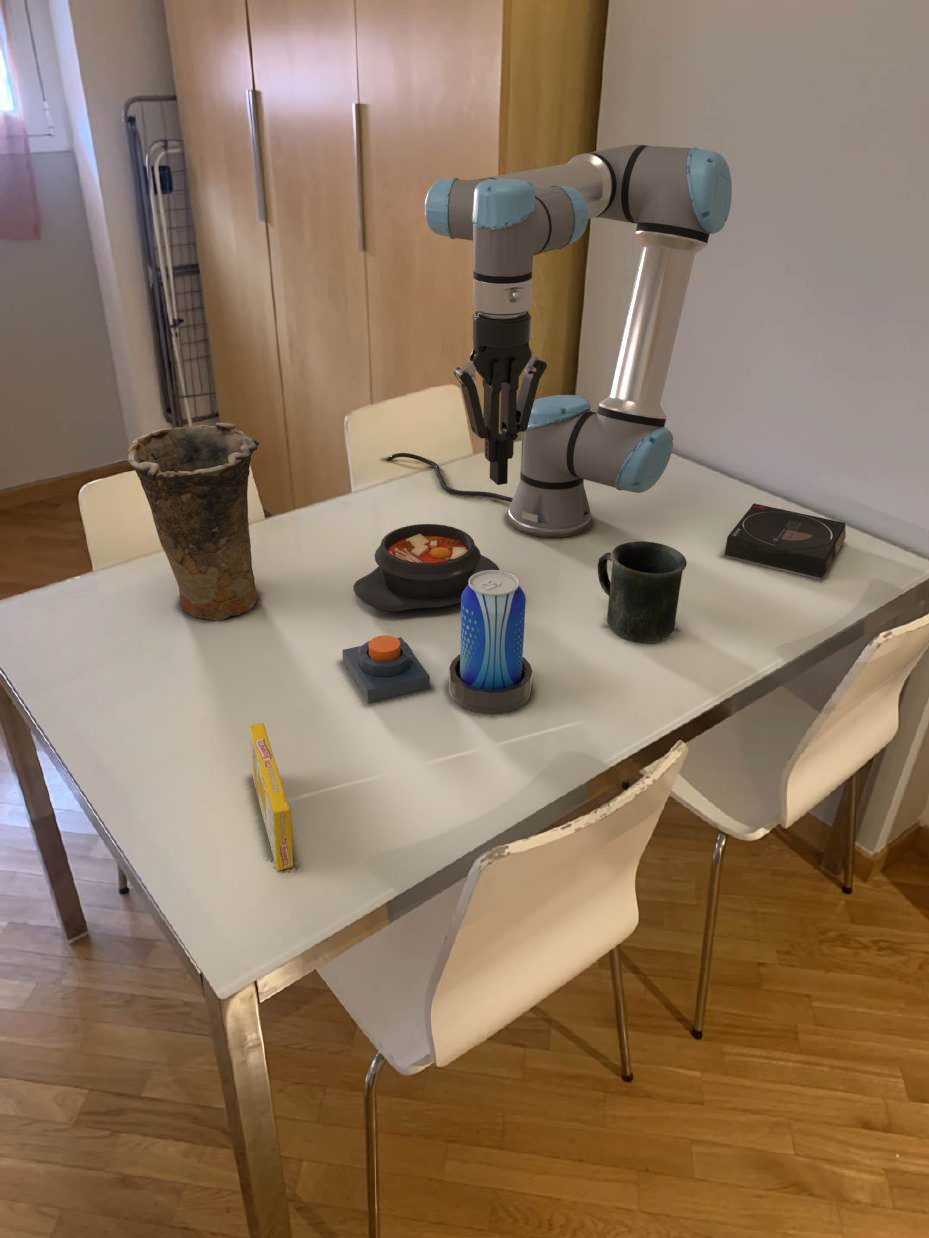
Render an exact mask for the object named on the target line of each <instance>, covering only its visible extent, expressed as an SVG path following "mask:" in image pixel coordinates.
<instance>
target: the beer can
mask: <svg viewBox="0 0 929 1238" xmlns="http://www.w3.org/2000/svg"><path fill="white" fill-rule="evenodd" d="M526 601H527V599H526V594H525V592H524V590H523V589H522V587H521V586H520V580H519V578H518V577H517V576H516V575H514V574H513V573H511V572H508V571H505V570H500V569H499V570H486V571H481V572H478V573H475V574H474V575H472V576H471V577H470V579H469V584H468V585H467V587H466V588H465V589H464V591H463V593H462V596H461V603H460V648H459V650H460V652H459V654H460V678H461V681H463V682H464V683H466V684H468V685H470V686H473V687H476V688H479V689H487V690H496V689H504V688H508V687H512V686H514V685H516V684H518V683H520V681H521V678H522V659H523V657H524V655H523V654H524V638H525V618H526V604H527V603H526Z"/></svg>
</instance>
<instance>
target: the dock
mask: <svg viewBox="0 0 929 1238" xmlns="http://www.w3.org/2000/svg"><path fill="white" fill-rule="evenodd" d="M532 683H533V669H532V666H531V663H530V662H529V661H528V660H527V659H526V658H525V657H524V656H523V659H522V678H521V681H520V683H518V684H516V685H514V686H512V687H508V688H504V689H496V690H487V689H479V688H476V687H473V686H470V685H468V684H466V683H464V682H463V681H461V678H460V653H459V654H458V655H456V656H455V658H453V659H452V661H451V663H450V665H449V667H448V684H449V687H448V689H449V695H450V698H451V699H452V700H453V701H454V703H456V704H457V705H458V706H460V707H461V708H463V709H464V710H467V711H470V712H473V713H477V714H484V715H498V714H499V715H501V714H506V713H509V712H513V711H516V710H518V709H519V708H521V707H523V706H524V705H525V704H526V703H527V702H528V701H529V699H530V697H531V693H532V692H531V691H532Z"/></svg>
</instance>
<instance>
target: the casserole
mask: <svg viewBox="0 0 929 1238" xmlns="http://www.w3.org/2000/svg"><path fill="white" fill-rule="evenodd" d="M374 561H375V563H376V564H377V565H378V566H377V567H376V568H375V569H374V570H372V571H371V572H370V573H368V574H367V575H365V576H363V577H361V578H359V579H358V580H356V581H355V582H354V585H353V586H352V587H353V592H354V594H355V596H356V597H357V598H358V599H359V600H360V601H361V602H362V603H364V604H366V605H368V606H370V607H372V608H375V609H377V610H381V611H385V612H400V611H407V610H413V609H433V608H443V607H450V606H454V605H457V604H461V596H462V593H463V591H464V589H465V588H466V587H467V585H468V584H469V579H470V577H471V576H472V575H474V574H475V573H478V572H481V571H486V570H500V568H499V566H498V565H497V564H496V563H495V562H494V561H493V560H491V559H490V558H488V557H486V556H484V555H483V554H481V551H480V549H479V548H478V546H477V545H476V544H475V540H474V539H473V537H472V536H471V535H470V534H468V533H467V532H466V531H463V530H462V529H460V528H457V527H455V526H449V525H445V524H438V523H418V524H410V525H406V526H403V527H402V526H401V527H399V528H396V529H394V530H391V531H389V533H387V534H386V535H384V537H383V538H382V539H381V541H380V545H379V546H378V547H377V549H376V550H375V553H374Z"/></svg>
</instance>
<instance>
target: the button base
mask: <svg viewBox="0 0 929 1238" xmlns="http://www.w3.org/2000/svg"><path fill="white" fill-rule="evenodd" d="M396 638H397V639H399V641H400V644H401V655H400V657H399V658H397V659H396V660H393V661H388V662H382V661H375V660H373V659H371V658H370V656H369V641H370V640H368V641H366V642H364V643H363V644H361V645H359V646H354V647H349V648H344V649H342V650H341V652H342V653H341V654H342V664H343V665H344V667H345V668H346V670H347V671H348V673H349V675H350V677H351V679H352V680H353V681H354V684H355V685H356V687H357V688H358V690H359V691H360V693H361V694H362V696H363V698H364V699H365V701H366V702H367V704H372V703H376V702H380V701H385V700H389V699H393V698H398V697H401V696H406V695H411V694H414V693H417V692H422V691H426V690H427V691H428V690H431V676H430V674H429V673H428V671H427V670H426V669H425V668H424V666H423V664H422V663H421V662H420V661H419V659H418V658H417V657H416V655H415V654H414V652H413V650H412V648H411V647H410V645H409V644H408V643H407V642H406V641H405V640H404V639H403V637H401V636H400V637H396Z"/></svg>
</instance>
